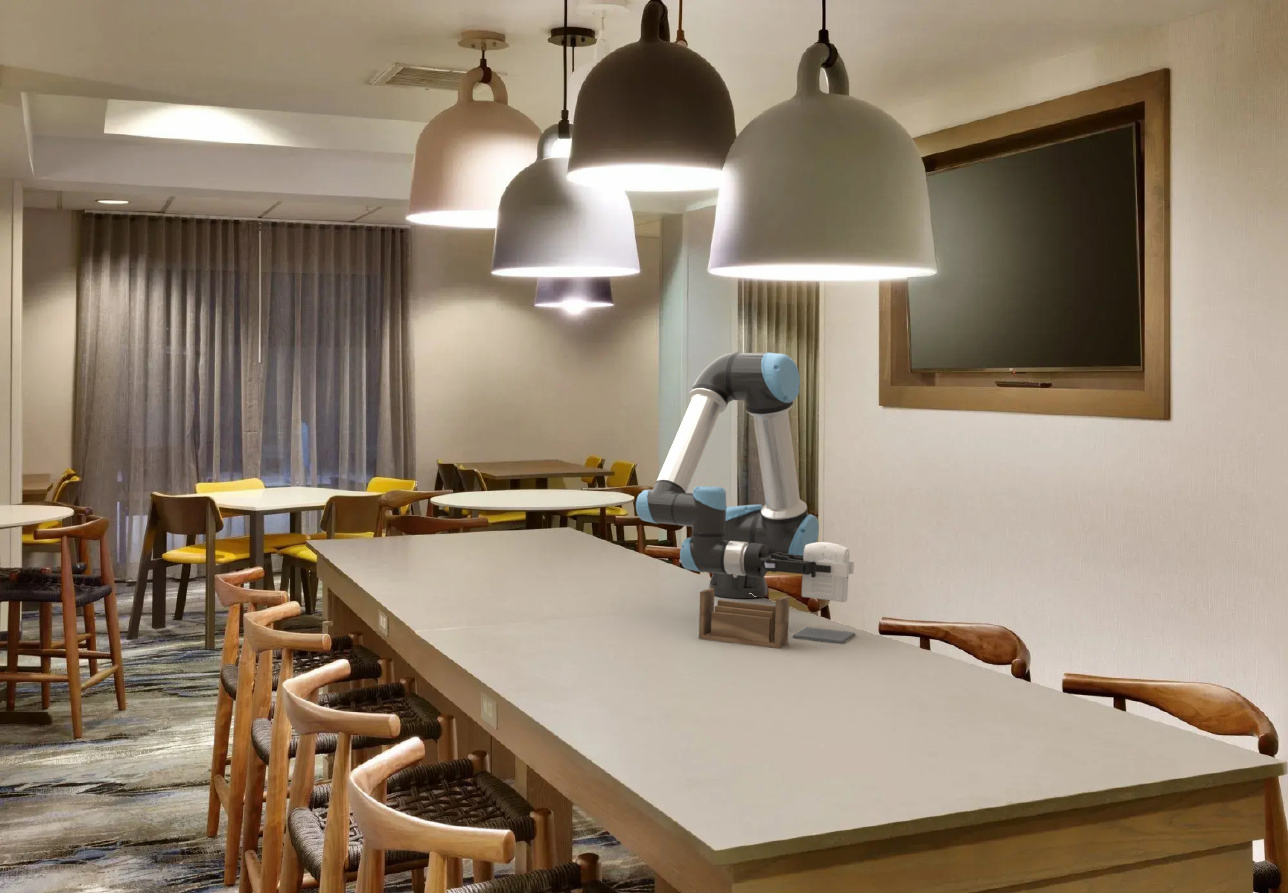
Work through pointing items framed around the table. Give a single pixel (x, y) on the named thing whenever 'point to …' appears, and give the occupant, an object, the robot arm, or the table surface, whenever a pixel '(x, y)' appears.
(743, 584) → the robot arm
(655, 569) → the table surface
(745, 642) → the offcut rack
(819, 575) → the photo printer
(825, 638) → the pad
